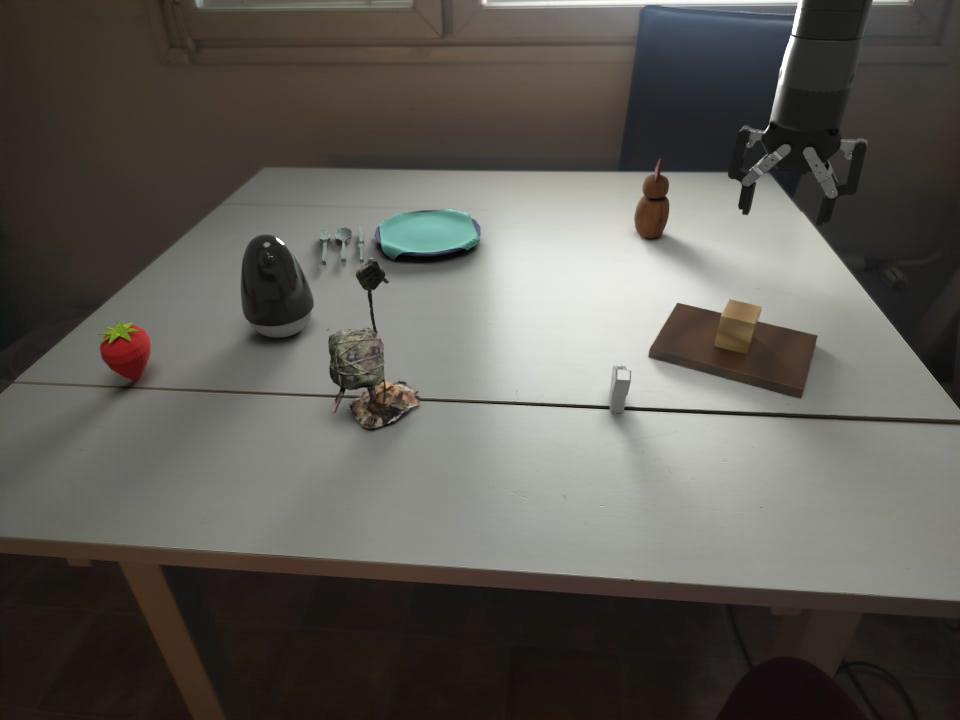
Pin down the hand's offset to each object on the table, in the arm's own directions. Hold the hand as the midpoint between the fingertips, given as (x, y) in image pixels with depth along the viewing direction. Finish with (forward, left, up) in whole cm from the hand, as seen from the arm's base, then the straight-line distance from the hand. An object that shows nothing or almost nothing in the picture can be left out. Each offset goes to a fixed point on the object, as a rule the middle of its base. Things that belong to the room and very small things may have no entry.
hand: (781, 218), depth 82 cm
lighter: (+12, +21, -20) cm, 31 cm away
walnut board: (+2, +1, -20) cm, 20 cm away
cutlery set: (+64, -7, -20) cm, 67 cm away
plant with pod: (+39, +35, -20) cm, 56 cm away
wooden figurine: (+24, -31, -20) cm, 44 cm away
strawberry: (+72, +45, -20) cm, 87 cm away
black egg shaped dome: (+63, +26, -20) cm, 71 cm away
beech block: (+2, +1, -18) cm, 19 cm away
